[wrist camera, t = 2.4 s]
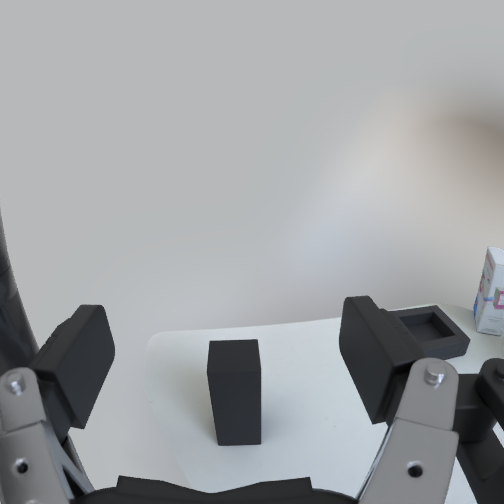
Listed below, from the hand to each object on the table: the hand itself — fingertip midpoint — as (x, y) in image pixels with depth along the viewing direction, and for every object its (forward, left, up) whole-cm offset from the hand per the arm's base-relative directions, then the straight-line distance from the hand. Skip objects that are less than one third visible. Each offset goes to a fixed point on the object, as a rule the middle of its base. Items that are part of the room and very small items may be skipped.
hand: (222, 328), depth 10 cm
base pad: (+26, +22, -20) cm, 39 cm away
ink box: (+41, +24, -20) cm, 51 cm away
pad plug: (0, +11, -20) cm, 23 cm away
